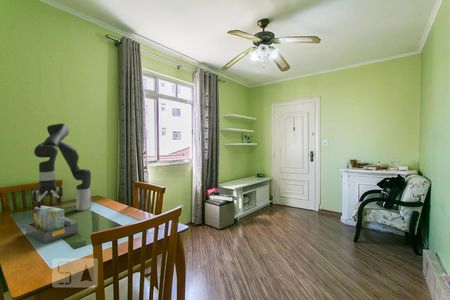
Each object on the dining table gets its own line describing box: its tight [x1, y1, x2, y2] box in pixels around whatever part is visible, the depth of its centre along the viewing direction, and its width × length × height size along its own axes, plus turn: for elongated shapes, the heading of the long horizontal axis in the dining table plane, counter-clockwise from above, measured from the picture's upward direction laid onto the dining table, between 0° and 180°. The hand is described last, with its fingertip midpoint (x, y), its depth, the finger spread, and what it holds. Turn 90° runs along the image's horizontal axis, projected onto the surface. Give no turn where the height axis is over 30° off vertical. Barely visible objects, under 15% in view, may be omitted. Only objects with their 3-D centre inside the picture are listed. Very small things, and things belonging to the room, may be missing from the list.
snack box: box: [33, 205, 65, 233], centre depth 125 cm, size 21×6×15 cm, turn 69°
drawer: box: [25, 216, 79, 245], centre depth 126 cm, size 16×26×8 cm, turn 60°
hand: (48, 205), depth 125 cm, fingers open, 8 cm apart
